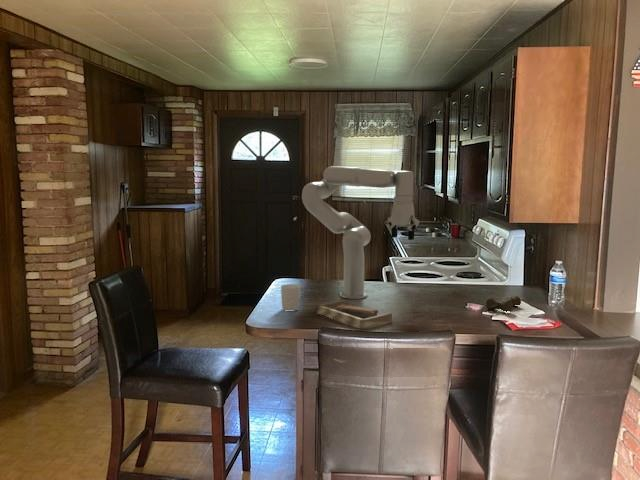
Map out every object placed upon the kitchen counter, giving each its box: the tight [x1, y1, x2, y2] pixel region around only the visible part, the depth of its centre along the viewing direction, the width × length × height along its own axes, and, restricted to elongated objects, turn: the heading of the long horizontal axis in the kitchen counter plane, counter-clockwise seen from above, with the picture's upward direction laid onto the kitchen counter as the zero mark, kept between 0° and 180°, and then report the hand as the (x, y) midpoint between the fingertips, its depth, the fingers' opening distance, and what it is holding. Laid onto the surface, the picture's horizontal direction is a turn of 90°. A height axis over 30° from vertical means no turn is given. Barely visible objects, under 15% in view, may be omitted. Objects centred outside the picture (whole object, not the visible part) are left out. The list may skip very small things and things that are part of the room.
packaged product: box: [335, 304, 379, 319], centre depth 206 cm, size 18×5×10 cm
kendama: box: [485, 295, 522, 312], centre depth 220 cm, size 6×10×20 cm
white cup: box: [280, 283, 301, 310], centre depth 217 cm, size 8×8×10 cm
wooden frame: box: [315, 299, 393, 331], centre depth 206 cm, size 27×16×4 cm, turn 40°
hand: (402, 238), depth 230 cm, fingers open, 9 cm apart
